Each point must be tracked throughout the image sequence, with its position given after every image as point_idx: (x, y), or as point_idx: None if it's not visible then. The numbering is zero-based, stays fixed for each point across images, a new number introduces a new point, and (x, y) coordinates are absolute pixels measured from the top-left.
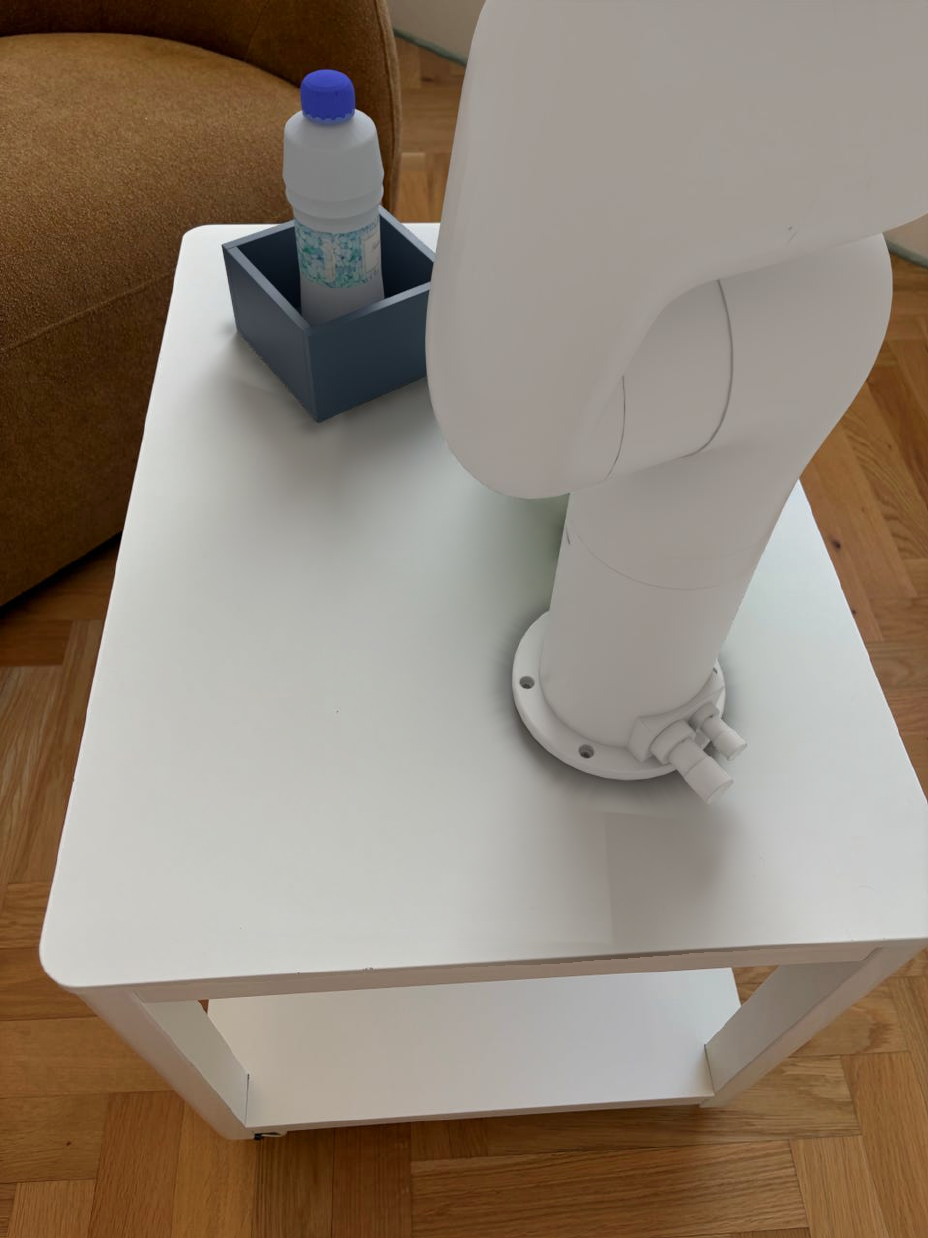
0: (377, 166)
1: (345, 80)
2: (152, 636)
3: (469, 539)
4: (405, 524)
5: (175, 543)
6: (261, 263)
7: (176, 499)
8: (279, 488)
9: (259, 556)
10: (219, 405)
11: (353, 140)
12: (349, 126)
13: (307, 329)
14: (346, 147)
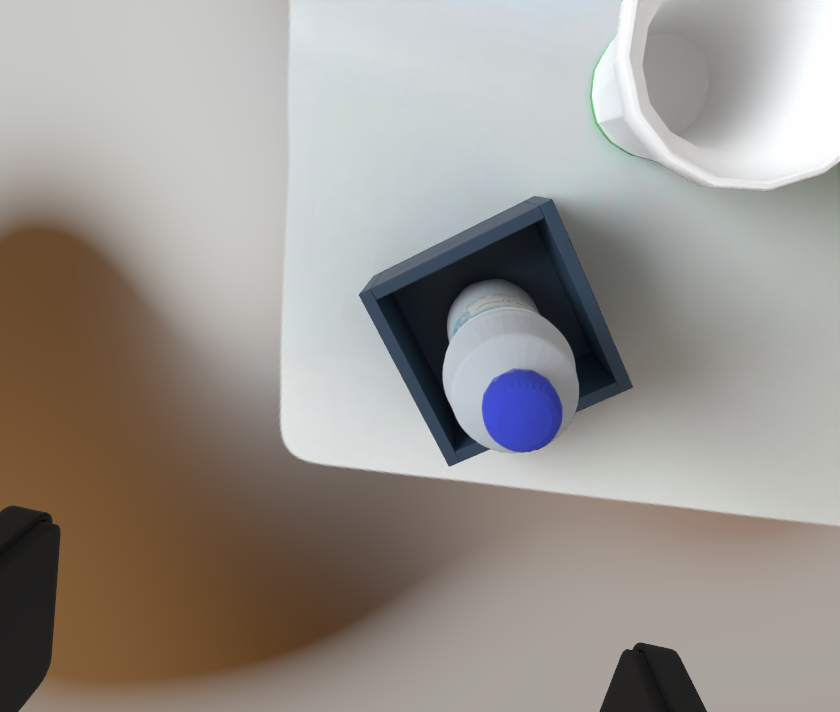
0: (543, 326)
1: (532, 394)
2: (823, 496)
3: (796, 226)
4: (760, 285)
5: (728, 480)
6: (443, 417)
7: (676, 478)
8: (684, 394)
9: (762, 415)
10: (560, 441)
11: (563, 369)
12: (546, 376)
13: (619, 387)
14: (575, 379)
